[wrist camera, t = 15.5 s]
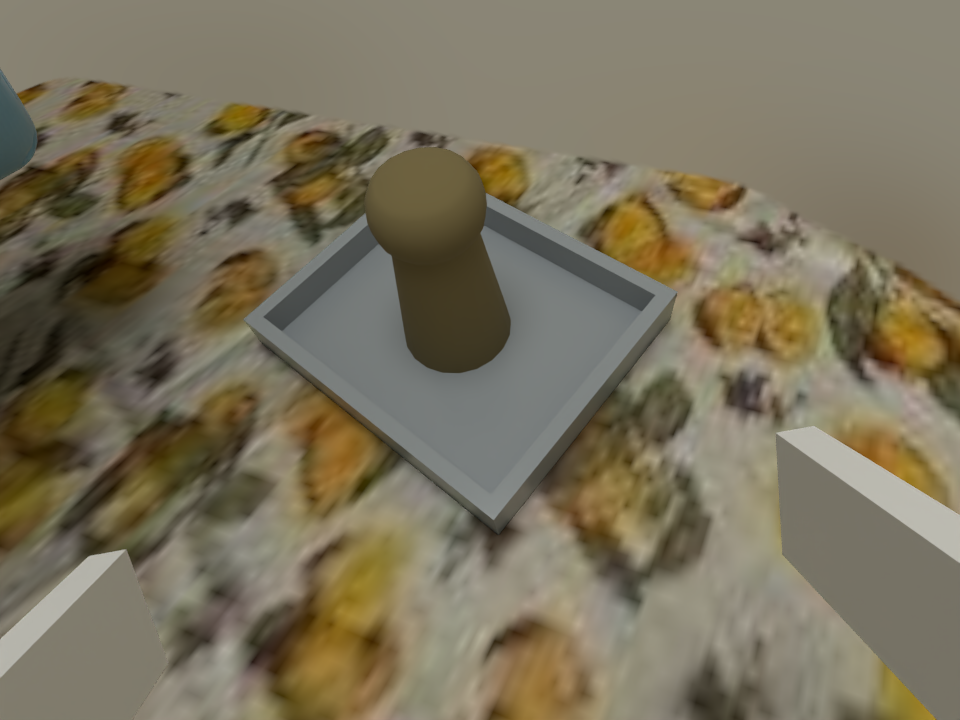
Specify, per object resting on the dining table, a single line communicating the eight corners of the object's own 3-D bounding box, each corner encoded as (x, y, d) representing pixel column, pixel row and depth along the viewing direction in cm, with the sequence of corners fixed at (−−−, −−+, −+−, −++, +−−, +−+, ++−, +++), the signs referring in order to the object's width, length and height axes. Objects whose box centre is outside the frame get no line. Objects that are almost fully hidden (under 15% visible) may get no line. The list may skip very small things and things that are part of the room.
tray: (262, 343, 35) (243, 319, 33) (431, 191, 40) (424, 161, 38) (498, 535, 28) (493, 520, 26) (669, 319, 33) (677, 291, 31)
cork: (443, 269, 36) (401, 110, 26) (531, 308, 33) (520, 148, 24) (383, 345, 33) (314, 200, 24) (473, 391, 31) (437, 251, 22)
